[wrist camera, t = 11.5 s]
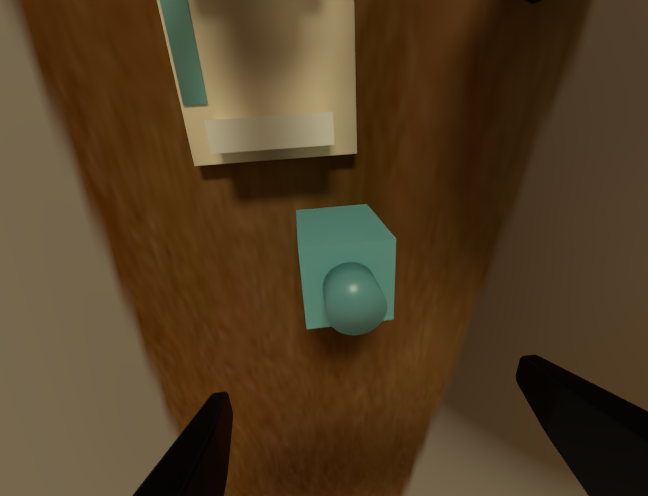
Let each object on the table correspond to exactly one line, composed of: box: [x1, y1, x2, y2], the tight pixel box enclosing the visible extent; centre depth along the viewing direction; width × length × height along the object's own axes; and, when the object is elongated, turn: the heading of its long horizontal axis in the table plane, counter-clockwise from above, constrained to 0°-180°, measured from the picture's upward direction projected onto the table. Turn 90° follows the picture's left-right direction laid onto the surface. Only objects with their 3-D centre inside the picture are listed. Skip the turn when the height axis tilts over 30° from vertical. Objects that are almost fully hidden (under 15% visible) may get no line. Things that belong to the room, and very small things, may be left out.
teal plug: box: [296, 204, 396, 335], centre depth 17 cm, size 4×4×8 cm
